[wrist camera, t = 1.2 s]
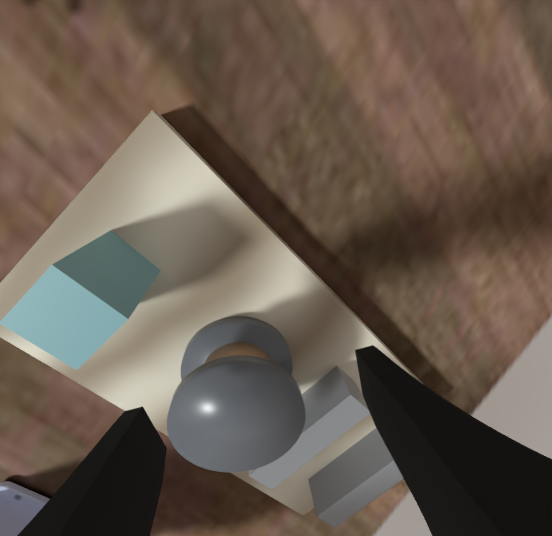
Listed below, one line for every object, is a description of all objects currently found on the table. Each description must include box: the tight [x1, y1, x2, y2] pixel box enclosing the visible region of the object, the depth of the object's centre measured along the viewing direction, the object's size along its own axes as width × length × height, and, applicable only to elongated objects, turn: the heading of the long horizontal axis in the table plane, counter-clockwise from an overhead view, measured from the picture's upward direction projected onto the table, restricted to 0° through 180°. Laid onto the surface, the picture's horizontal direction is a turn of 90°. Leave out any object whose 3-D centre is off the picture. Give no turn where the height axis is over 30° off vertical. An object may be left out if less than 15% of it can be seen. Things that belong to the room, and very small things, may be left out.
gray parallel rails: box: [249, 366, 404, 528], centre depth 20 cm, size 8×8×2 cm
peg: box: [0, 230, 161, 370], centre depth 13 cm, size 3×3×5 cm
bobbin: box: [167, 316, 306, 472], centre depth 16 cm, size 6×6×4 cm
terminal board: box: [0, 110, 422, 515], centre depth 19 cm, size 26×14×2 cm, turn 43°
